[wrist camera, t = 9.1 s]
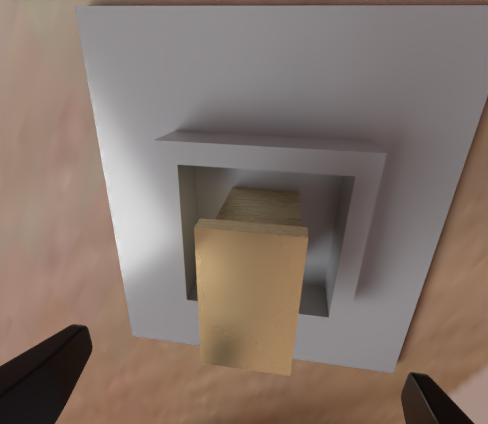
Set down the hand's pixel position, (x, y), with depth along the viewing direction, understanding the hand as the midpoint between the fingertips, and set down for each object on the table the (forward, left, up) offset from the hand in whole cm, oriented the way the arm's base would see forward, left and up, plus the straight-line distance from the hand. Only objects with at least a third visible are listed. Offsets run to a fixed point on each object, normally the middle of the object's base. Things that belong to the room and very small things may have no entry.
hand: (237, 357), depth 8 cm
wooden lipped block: (0, 0, -9) cm, 9 cm away
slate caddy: (0, 0, -10) cm, 10 cm away
